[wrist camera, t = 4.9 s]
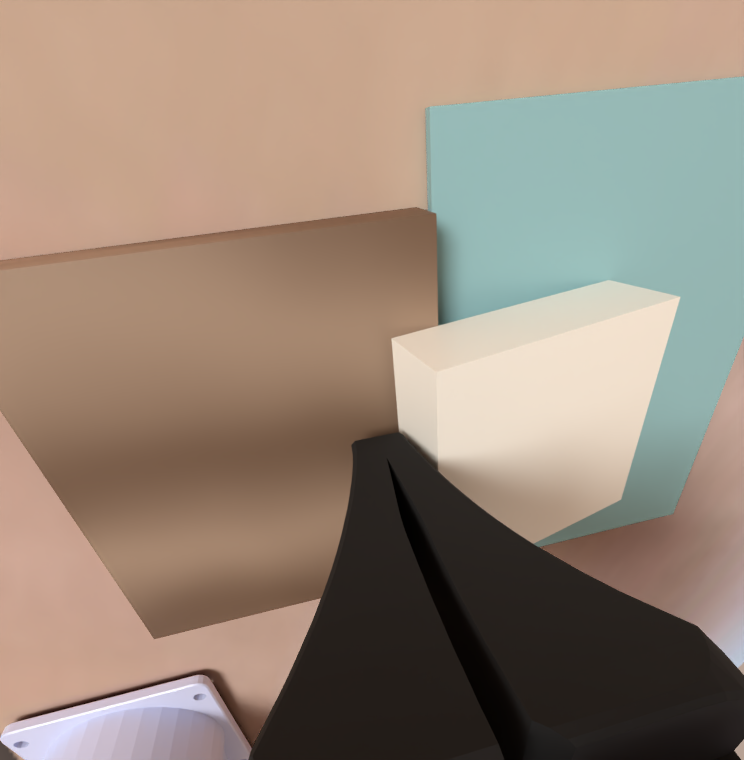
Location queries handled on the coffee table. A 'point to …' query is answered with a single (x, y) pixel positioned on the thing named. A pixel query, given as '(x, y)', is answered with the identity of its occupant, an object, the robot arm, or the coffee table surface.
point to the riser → (214, 398)
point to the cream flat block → (536, 400)
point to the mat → (605, 238)
